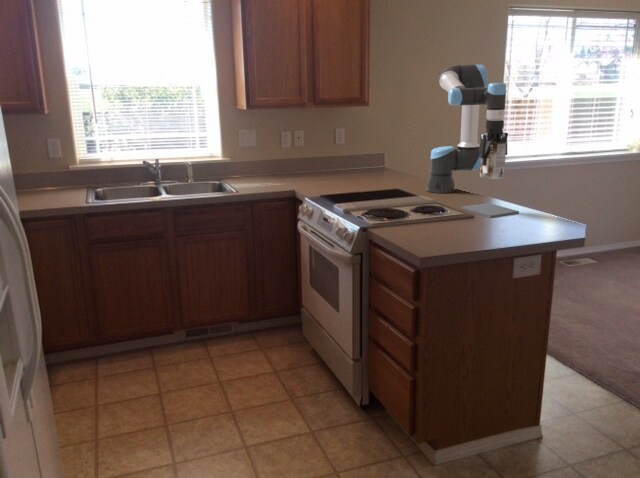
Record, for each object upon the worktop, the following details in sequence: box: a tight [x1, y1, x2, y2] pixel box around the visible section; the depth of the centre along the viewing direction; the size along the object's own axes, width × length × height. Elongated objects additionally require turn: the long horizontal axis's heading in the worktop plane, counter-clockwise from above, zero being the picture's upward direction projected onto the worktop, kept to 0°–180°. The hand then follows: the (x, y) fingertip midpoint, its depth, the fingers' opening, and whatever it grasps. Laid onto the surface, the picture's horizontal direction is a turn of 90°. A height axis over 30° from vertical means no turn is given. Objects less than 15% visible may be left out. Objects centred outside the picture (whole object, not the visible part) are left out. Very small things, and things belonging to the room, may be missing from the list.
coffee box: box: [479, 141, 508, 181], centre depth 249 cm, size 9×6×16 cm
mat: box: [461, 202, 520, 219], centre depth 256 cm, size 20×16×1 cm
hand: (492, 172), depth 251 cm, fingers closed on coffee box, 7 cm apart
